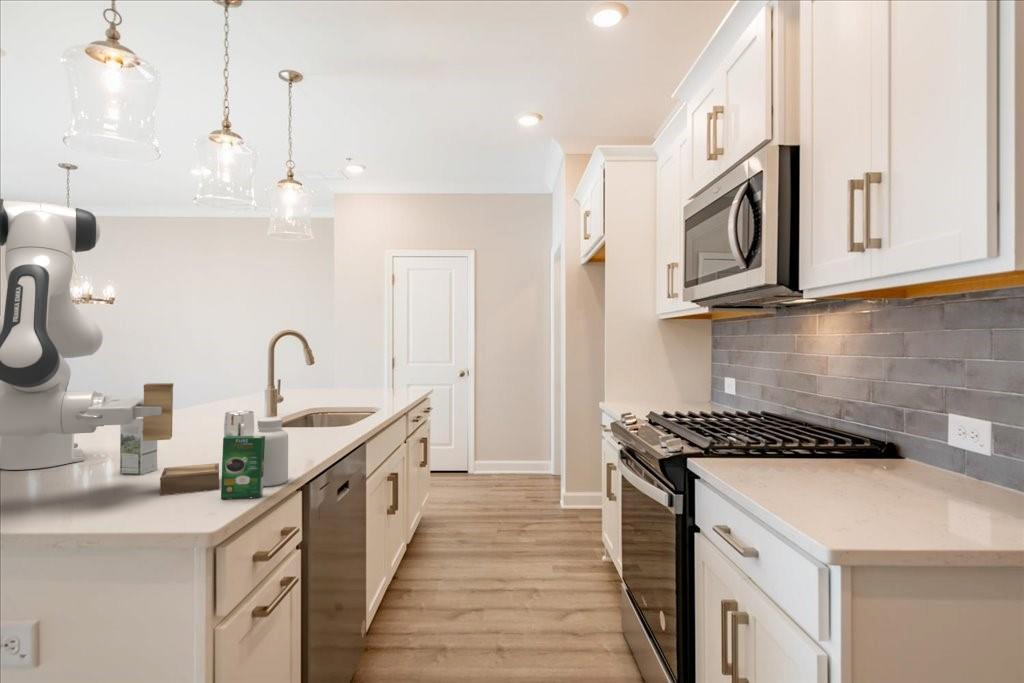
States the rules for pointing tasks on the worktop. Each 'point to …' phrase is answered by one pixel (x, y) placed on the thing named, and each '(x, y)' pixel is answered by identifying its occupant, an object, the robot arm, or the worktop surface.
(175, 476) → the walnut base
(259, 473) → the coffee box
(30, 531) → the worktop surface
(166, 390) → the oak block
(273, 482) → the pill bottle
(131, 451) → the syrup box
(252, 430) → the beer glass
